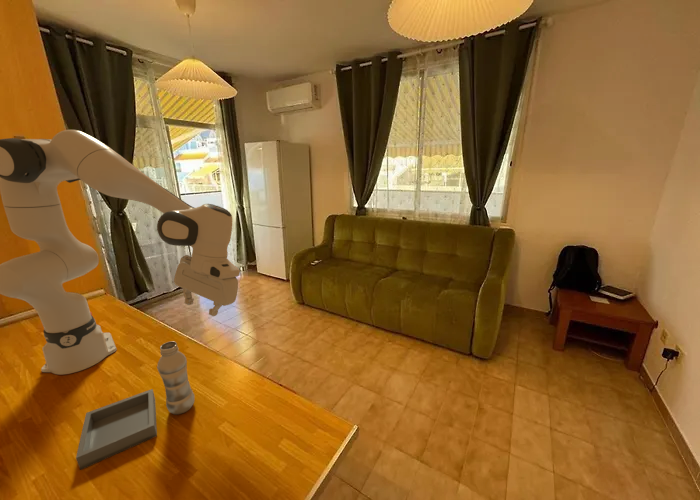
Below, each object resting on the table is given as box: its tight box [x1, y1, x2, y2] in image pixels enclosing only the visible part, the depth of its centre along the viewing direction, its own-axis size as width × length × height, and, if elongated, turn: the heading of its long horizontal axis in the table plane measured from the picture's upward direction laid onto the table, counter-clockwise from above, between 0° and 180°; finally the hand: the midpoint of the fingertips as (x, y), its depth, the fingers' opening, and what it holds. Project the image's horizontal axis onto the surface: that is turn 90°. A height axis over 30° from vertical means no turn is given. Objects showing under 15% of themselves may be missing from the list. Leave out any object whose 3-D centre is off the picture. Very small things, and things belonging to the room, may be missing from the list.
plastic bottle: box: [156, 340, 195, 415], centre depth 74 cm, size 6×7×20 cm
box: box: [75, 388, 158, 470], centre depth 71 cm, size 14×14×4 cm
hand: (200, 309), depth 81 cm, fingers open, 8 cm apart
